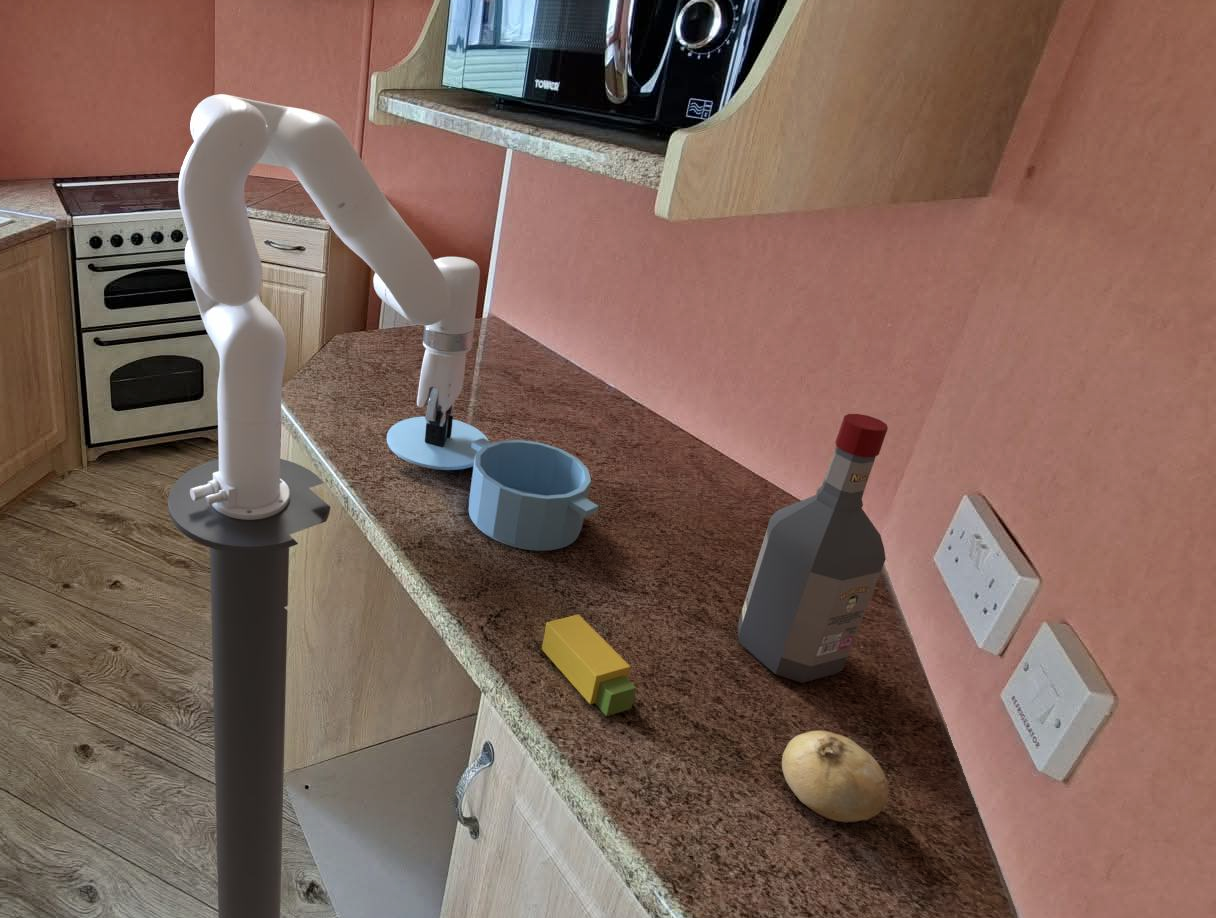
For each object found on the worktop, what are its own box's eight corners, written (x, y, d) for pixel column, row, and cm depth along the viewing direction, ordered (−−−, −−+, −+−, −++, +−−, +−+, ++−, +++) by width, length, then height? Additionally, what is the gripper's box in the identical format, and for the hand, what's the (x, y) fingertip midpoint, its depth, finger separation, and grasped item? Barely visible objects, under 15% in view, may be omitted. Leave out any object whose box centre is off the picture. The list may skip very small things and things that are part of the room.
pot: (543, 575, 103) (552, 521, 100) (433, 497, 120) (439, 448, 117) (620, 539, 111) (631, 487, 107) (507, 470, 127) (514, 423, 124)
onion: (796, 746, 79) (816, 694, 77) (889, 805, 74) (915, 750, 71) (760, 789, 75) (780, 735, 72) (857, 855, 69) (882, 799, 66)
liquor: (853, 672, 88) (946, 437, 77) (789, 690, 86) (874, 450, 74) (783, 617, 97) (857, 397, 85) (723, 632, 94) (790, 407, 82)
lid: (433, 484, 121) (437, 446, 118) (366, 437, 134) (368, 402, 131) (511, 455, 128) (516, 418, 126) (440, 414, 142) (444, 380, 139)
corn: (636, 707, 84) (643, 679, 82) (601, 718, 83) (608, 689, 81) (573, 640, 93) (578, 613, 91) (541, 649, 91) (546, 622, 90)
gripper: (440, 316, 132) (431, 414, 139) (407, 350, 119) (398, 456, 126) (485, 324, 128) (473, 424, 135) (456, 360, 115) (444, 468, 122)
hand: (437, 439), depth 131 cm, fingers closed on lid, 2 cm apart
